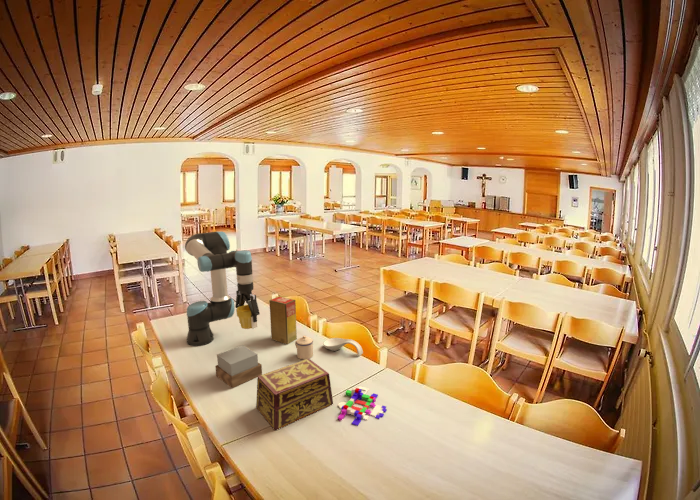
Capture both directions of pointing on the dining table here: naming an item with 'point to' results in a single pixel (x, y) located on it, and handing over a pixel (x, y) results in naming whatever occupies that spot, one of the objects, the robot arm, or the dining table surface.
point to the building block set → (360, 412)
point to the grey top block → (237, 360)
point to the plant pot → (244, 316)
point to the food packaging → (283, 320)
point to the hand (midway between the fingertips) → (248, 324)
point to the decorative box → (293, 393)
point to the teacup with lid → (304, 348)
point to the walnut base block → (239, 376)
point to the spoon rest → (341, 344)
